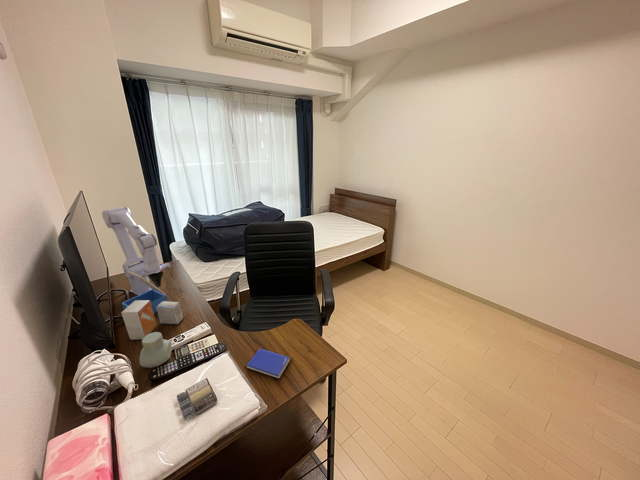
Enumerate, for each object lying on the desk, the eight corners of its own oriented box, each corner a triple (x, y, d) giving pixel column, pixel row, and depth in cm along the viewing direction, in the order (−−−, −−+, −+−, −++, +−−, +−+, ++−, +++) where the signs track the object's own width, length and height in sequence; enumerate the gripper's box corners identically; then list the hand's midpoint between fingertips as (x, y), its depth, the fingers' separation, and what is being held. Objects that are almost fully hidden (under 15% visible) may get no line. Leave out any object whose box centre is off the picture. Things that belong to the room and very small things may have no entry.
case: (138, 322, 109) (134, 311, 107) (124, 313, 114) (121, 303, 112) (168, 305, 120) (166, 295, 118) (155, 298, 126) (152, 288, 123)
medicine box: (183, 318, 111) (179, 301, 108) (177, 324, 107) (173, 308, 104) (167, 317, 112) (162, 300, 109) (160, 323, 108) (155, 307, 105)
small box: (146, 339, 99) (137, 312, 95) (129, 339, 99) (120, 312, 95) (157, 325, 107) (150, 299, 102) (142, 326, 107) (134, 300, 102)
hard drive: (289, 356, 89) (259, 347, 93) (278, 375, 82) (246, 364, 86) (290, 360, 90) (260, 351, 94) (278, 379, 83) (247, 368, 87)
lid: (142, 278, 107) (143, 277, 108) (128, 272, 113) (129, 271, 113) (165, 295, 118) (166, 294, 118) (151, 288, 123) (152, 287, 123)
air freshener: (168, 367, 87) (162, 345, 83) (140, 375, 84) (132, 352, 81) (173, 345, 96) (167, 324, 93) (148, 351, 94) (141, 330, 90)
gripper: (138, 268, 107) (146, 296, 112) (171, 256, 119) (177, 281, 124) (130, 265, 110) (138, 291, 115) (163, 253, 122) (169, 277, 127)
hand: (158, 286), depth 120 cm, fingers closed
